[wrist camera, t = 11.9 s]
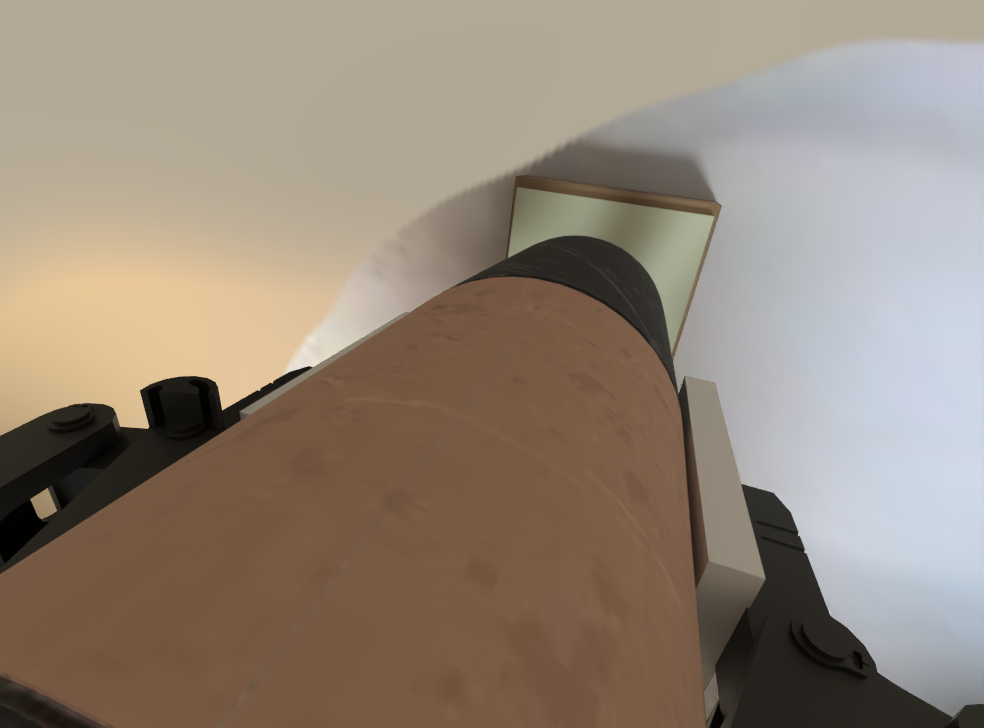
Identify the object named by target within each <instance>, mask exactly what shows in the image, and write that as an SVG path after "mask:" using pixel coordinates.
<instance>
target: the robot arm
mask: <svg viewBox="0 0 984 728" xmlns="http://www.w3.org/2000/svg"><path fill="white" fill-rule="evenodd" d="M407 314H409V313H408V312H405V313H403V314H401V315H400V316H398V317H396V318H395V319H393V320H391V321H390V322H388V323H386V324H385V325H383V326H381V327H380V328H378V329H376V330H375V331H373V332H371V333H370V334H368V335H366V336H365V337H363V338H361V339H360V340H358V341H356V342H355V343H353V344H351V345H350V346H348V347H346V348H345V349H343V350H341V351H340V352H338V353H336V354H335V355H333V356H331V357H330V358H328V359H326V360H325V361H323V362H321V363H320V364H318V365H316V366H315V367H310V366H308V367H305V368H302V369H298V370H295V371H292V372H289V373H287V374H285V375H283V376H282V377H280V378H278V379H276V380H275V381H274V382H273V384H272V383H269V384H268V385H266V386H264V387H262V388H261V390H260V391H258V390H257V391H256V392H254V393H252V394H250V395H248V396H247V397H245V398H243V399H241V400H240V401H238V402H236V403H235V404H233V405H231V406H230V407H228V408H226V409H224V410H222V408H221V402H220V396H219V391H218V387H217V385H216V382H214V381H212V380H210V379H208V378H202V377H197V376H189V377H187V376H185V377H176V378H170V379H165V380H162V381H159V382H156V383H153V384H150V385H149V386H147V387H145V388H143V389H142V390H140V393H141V397H142V400H143V404H144V408H145V412H146V415H147V419H148V423H149V428H148V429H142V428H128V427H120V426H119V422H118V419H117V415H116V413H115V411H114V409H113V408H112V407H109V406H107V405H104V404H92V403H83V404H74V405H70V406H68V407H64V408H60V409H57V410H54V411H52V412H50V413H47V414H44V415H42V416H40V417H38V418H36V419H34V420H32V421H30V422H28V423H25V424H23V425H21V426H19V427H18V428H15V429H13V430H12V431H9V432H7V433H5V434H3V435H1V436H0V574H1V573H3V572H4V571H6V570H8V569H9V568H11V567H12V566H14V565H15V564H17V563H19V562H20V561H22V560H23V559H25V558H26V557H28V556H30V555H31V554H33V553H34V552H36V551H37V550H39V549H41V548H42V547H44V546H45V545H47V544H48V543H50V542H51V541H53V540H55V539H56V538H58V537H59V536H61V535H62V534H64V533H66V532H67V531H69V530H70V529H72V528H73V527H75V526H77V525H78V524H80V523H81V522H83V521H84V520H86V519H87V518H89V517H91V516H92V515H94V514H95V513H97V512H98V511H100V510H102V509H103V508H105V507H106V506H108V505H109V504H111V503H113V502H114V501H116V500H117V499H119V498H120V497H122V496H124V495H125V494H127V493H128V492H130V491H131V490H133V489H134V488H136V487H138V486H139V485H141V484H142V483H144V482H145V481H147V480H149V479H150V478H152V477H153V476H155V475H156V474H158V473H160V472H161V471H163V470H164V469H166V468H167V467H169V466H171V465H172V464H174V463H175V462H177V461H178V460H180V459H181V458H183V457H185V456H186V455H188V454H189V453H191V452H192V451H194V450H196V449H197V448H199V447H200V446H202V445H203V444H205V443H207V442H208V441H210V440H211V439H213V438H214V437H216V436H218V435H219V434H221V433H222V432H224V431H225V430H227V429H228V428H230V427H232V426H233V425H235V424H236V423H238V422H239V421H241V420H243V419H244V418H246V417H247V416H249V415H250V414H252V413H254V412H255V411H257V410H258V409H260V408H261V407H263V406H265V405H266V404H268V403H269V402H271V401H272V400H274V399H275V398H277V397H279V396H280V395H282V394H283V393H285V392H286V391H288V390H290V389H291V388H293V387H294V386H296V385H297V384H299V383H301V382H302V381H304V380H305V379H307V378H308V377H310V376H311V375H313V374H315V373H316V372H318V371H319V370H321V369H322V368H324V367H326V366H327V365H329V364H330V363H332V362H333V361H335V360H337V359H338V358H340V357H341V356H343V355H344V354H346V353H348V352H349V351H351V350H352V349H354V348H355V347H357V346H358V345H360V344H362V343H363V342H365V341H366V340H368V339H369V338H371V337H373V336H374V335H376V334H377V333H379V332H380V331H382V330H384V329H385V328H387V327H388V326H390V325H391V324H393V323H395V322H396V321H398V320H399V319H401V318H402V317H404V316H405V315H407ZM679 401H680V409H681V416H682V426H683V436H684V449H685V462H686V474H687V487H688V500H689V513H690V525H691V538H692V551H693V564H694V576H695V589H696V602H697V614H698V627H699V640H700V653H701V665H702V678H703V690H704V691H705V690H706V688H707V686H708V684H709V682H710V680H711V678H712V677H713V675H714V673H715V671H716V676H717V685H718V694H719V700H718V702H717V704H716V706H715V707H714V709H713V711H712V713H711V714H710V716H709V718H708V719H707V721H706V728H984V704H976V705H965V706H964V707H963V708H962V709H961V710H960V711H959V712H958V713H957V714H956V715H955V716H954V717H953V718H952V717H950V716H949V715H947V714H945V713H944V712H942V711H940V710H938V709H937V708H935V707H933V706H931V705H930V704H928V703H926V702H925V701H923V700H921V699H919V698H918V697H916V696H914V695H912V694H911V693H909V692H907V691H906V690H904V689H902V688H900V687H899V686H897V685H895V684H894V683H892V682H891V681H889V680H888V679H886V678H885V677H883V676H882V675H880V674H879V673H877V669H876V664H875V662H874V661H873V659H872V657H871V656H870V654H869V653H868V651H867V649H866V648H865V646H864V645H863V644H862V643H861V642H860V641H859V640H858V639H857V638H856V637H855V636H854V635H853V633H852V632H851V631H850V630H849V629H848V628H847V627H845V626H844V625H842V624H841V623H840V622H838V621H837V620H835V619H834V618H832V617H831V616H830V614H829V612H828V609H827V606H826V604H825V601H824V599H823V596H822V593H821V591H820V588H819V585H818V583H817V580H816V578H815V575H814V572H813V570H812V567H811V564H810V562H809V559H808V557H807V554H806V553H804V550H805V549H804V546H803V543H802V541H801V538H800V536H798V530H797V528H796V525H795V522H794V520H793V517H792V515H791V512H790V511H789V510H788V509H787V508H786V507H785V506H784V504H783V503H782V502H781V501H780V500H779V499H778V498H777V496H776V495H775V494H774V493H772V492H768V491H765V490H761V489H757V488H754V487H750V486H747V485H743V484H741V482H740V478H739V475H738V471H737V467H736V463H735V459H734V455H733V452H732V448H731V444H730V440H729V436H728V432H727V429H726V425H725V421H724V417H723V413H722V409H721V406H720V402H719V398H718V394H717V390H716V386H715V383H713V382H709V381H704V380H700V379H696V378H691V377H687V376H685V377H684V380H683V383H682V386H681V389H680V392H679ZM47 488H48V490H49V492H50V495H51V497H52V499H53V502H54V504H55V507H56V509H57V512H55V513H54V514H52V515H50V516H48V517H46V518H44V519H40V518H39V517H38V516H37V514H36V512H35V509H34V507H33V505H32V502H31V500H30V499H31V498H32V497H34V496H35V495H37V494H39V493H40V492H42V491H43V490H45V489H47Z"/></svg>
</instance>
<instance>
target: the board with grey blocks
mask: <svg viewBox="0 0 984 728" xmlns="http://www.w3.org/2000/svg"><path fill="white" fill-rule="evenodd" d="M721 206H722V205H721V204H719V203H717V202H712V201H705V200H698V199H691V198H684V197H677V196H669V195H662V194H655V193H648V192H641V191H634V190H627V189H619V188H612V187H605V186H598V185H591V184H584V183H576V182H569V181H562V180H555V179H548V178H541V177H534V176H526V175H525V176H516V181H515V189H514V197H513V205H512V213H511V221H510V229H509V237H508V245H507V253H506V259H507V258H509V257H511V256H513V255H515V254H517V253H519V252H520V251H522V250H524V249H526V248H528V247H530V246H532V245H535V244H537V243H539V242H542V241H545V240H548V239H551V238H556V237H561V236H572V235H577V236H589V237H594V238H598V239H601V240H604V241H607V242H610V243H612V244H614V245H616V246H618V247H620V248H622V249H623V250H625V251H626V252H628V253H629V254H631V255H632V256H633V257H634V258H635V259H636V260H637V261H638V262H639V263H641V265H642V266H643V267H644V268H645V270H646V271H647V272H648V273H649V275H650V277H651V278H652V280H653V282H654V283H655V285H656V288H657V290H658V293H659V295H660V298H661V301H662V305H663V309H664V314H665V319H666V325H667V330H668V336H669V342H670V348H671V354H672V360H673V358H674V355H675V352H676V349H677V345H678V342H679V339H680V336H681V333H682V330H683V326H684V323H685V320H686V317H687V314H688V311H689V308H690V304H691V301H692V298H693V295H694V292H695V289H696V285H697V282H698V279H699V276H700V273H701V270H702V266H703V263H704V260H705V257H706V254H707V251H708V247H709V244H710V241H711V238H712V235H713V232H714V229H715V225H716V222H717V219H718V216H719V213H720V210H721Z"/></svg>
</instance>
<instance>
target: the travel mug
mask: <svg viewBox="0 0 984 728" xmlns="http://www.w3.org/2000/svg"><path fill="white" fill-rule="evenodd" d="M0 728H706V716H705V704H704V691H703V678H702V665H701V653H700V640H699V627H698V614H697V602H696V589H695V576H694V564H693V551H692V538H691V525H690V513H689V500H688V487H687V474H686V462H685V449H684V436H683V426H682V416H681V409H680V401H679V395H678V389H677V383H676V378H675V372H674V366H673V360H672V354H671V348H670V342H669V336H668V330H667V325H666V319H665V314H664V309H663V305H662V301H661V298H660V295H659V293H658V290H657V288H656V285H655V283H654V282H653V280H652V278H651V277H650V275H649V273H648V272H647V271H646V270H645V268H644V267H643V266H642V265H641V263H639V262H638V261H637V260H636V259H635V258H634V257H633V256H632V255H631V254H629V253H628V252H626V251H625V250H623V249H622V248H620V247H618V246H616V245H614V244H612V243H610V242H607V241H604V240H601V239H598V238H594V237H589V236H577V235H572V236H561V237H556V238H551V239H548V240H545V241H542V242H539V243H537V244H535V245H532V246H530V247H528V248H526V249H524V250H522V251H520V252H519V253H517V254H515V255H513V256H511V257H509V258H507V259H505V260H503V261H501V262H499V263H498V264H496V265H494V266H492V267H490V268H488V269H486V270H484V271H482V272H480V273H479V274H477V275H475V276H473V277H471V278H469V279H467V280H465V281H463V282H461V283H460V284H458V285H456V286H454V287H452V288H450V289H448V290H446V291H444V292H442V293H441V294H439V295H437V296H435V297H434V298H432V299H431V300H429V301H427V302H426V303H424V304H423V305H421V306H420V307H418V308H416V309H415V310H413V311H412V312H410V313H409V314H407V315H405V316H404V317H402V318H401V319H399V320H398V321H396V322H395V323H393V324H391V325H390V326H388V327H387V328H385V329H384V330H382V331H380V332H379V333H377V334H376V335H374V336H373V337H371V338H369V339H368V340H366V341H365V342H363V343H362V344H360V345H358V346H357V347H355V348H354V349H352V350H351V351H349V352H348V353H346V354H344V355H343V356H341V357H340V358H338V359H337V360H335V361H333V362H332V363H330V364H329V365H327V366H326V367H324V368H322V369H321V370H319V371H318V372H316V373H315V374H313V375H311V376H310V377H308V378H307V379H305V380H304V381H302V382H301V383H299V384H297V385H296V386H294V387H293V388H291V389H290V390H288V391H286V392H285V393H283V394H282V395H280V396H279V397H277V398H275V399H274V400H272V401H271V402H269V403H268V404H266V405H265V406H263V407H261V408H260V409H258V410H257V411H255V412H254V413H252V414H250V415H249V416H247V417H246V418H244V419H243V420H241V421H239V422H238V423H236V424H235V425H233V426H232V427H230V428H228V429H227V430H225V431H224V432H222V433H221V434H219V435H218V436H216V437H214V438H213V439H211V440H210V441H208V442H207V443H205V444H203V445H202V446H200V447H199V448H197V449H196V450H194V451H192V452H191V453H189V454H188V455H186V456H185V457H183V458H181V459H180V460H178V461H177V462H175V463H174V464H172V465H171V466H169V467H167V468H166V469H164V470H163V471H161V472H160V473H158V474H156V475H155V476H153V477H152V478H150V479H149V480H147V481H145V482H144V483H142V484H141V485H139V486H138V487H136V488H134V489H133V490H131V491H130V492H128V493H127V494H125V495H124V496H122V497H120V498H119V499H117V500H116V501H114V502H113V503H111V504H109V505H108V506H106V507H105V508H103V509H102V510H100V511H98V512H97V513H95V514H94V515H92V516H91V517H89V518H87V519H86V520H84V521H83V522H81V523H80V524H78V525H77V526H75V527H73V528H72V529H70V530H69V531H67V532H66V533H64V534H62V535H61V536H59V537H58V538H56V539H55V540H53V541H51V542H50V543H48V544H47V545H45V546H44V547H42V548H41V549H39V550H37V551H36V552H34V553H33V554H31V555H30V556H28V557H26V558H25V559H23V560H22V561H20V562H19V563H17V564H15V565H14V566H12V567H11V568H9V569H8V570H6V571H4V572H3V573H1V574H0Z"/></svg>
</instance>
